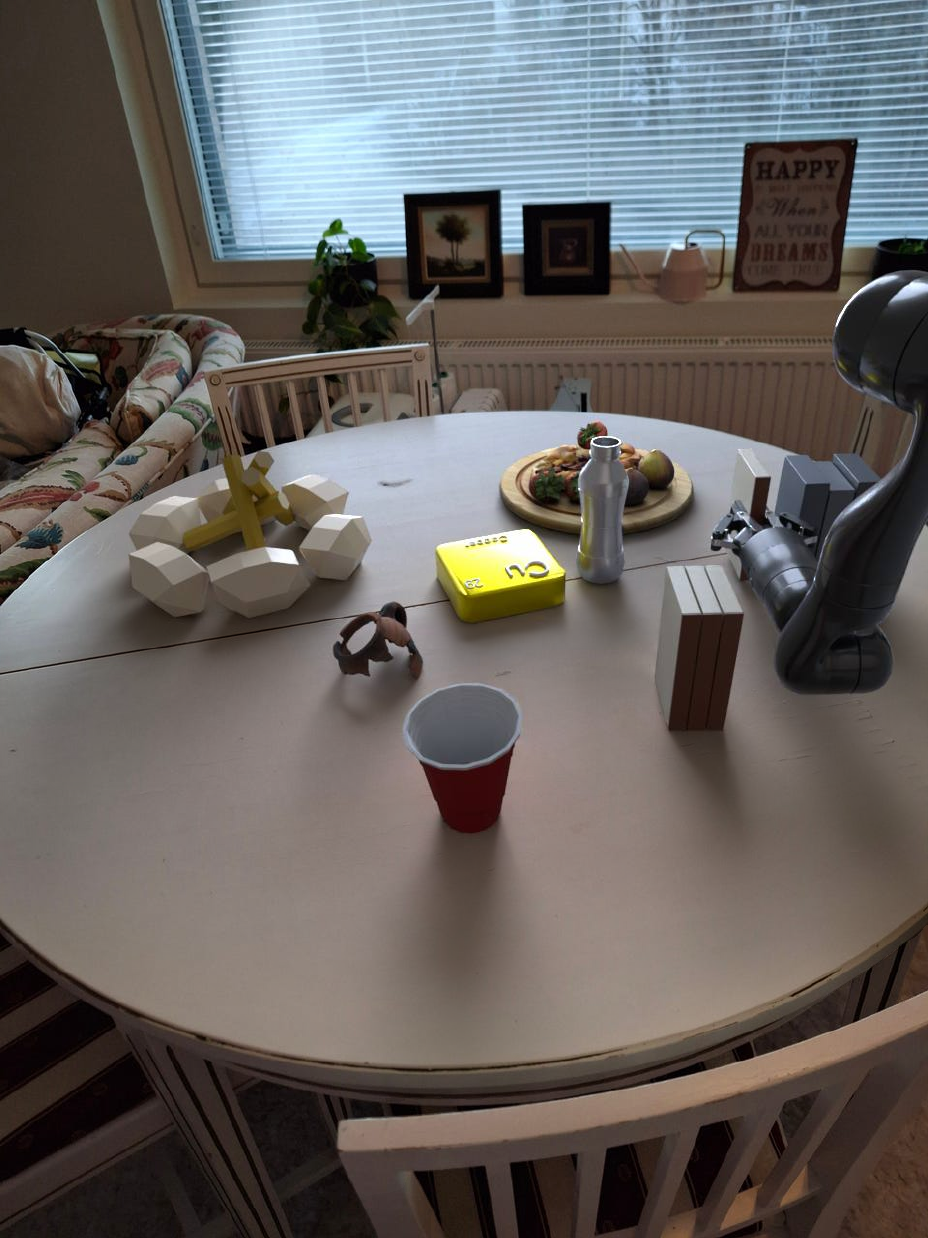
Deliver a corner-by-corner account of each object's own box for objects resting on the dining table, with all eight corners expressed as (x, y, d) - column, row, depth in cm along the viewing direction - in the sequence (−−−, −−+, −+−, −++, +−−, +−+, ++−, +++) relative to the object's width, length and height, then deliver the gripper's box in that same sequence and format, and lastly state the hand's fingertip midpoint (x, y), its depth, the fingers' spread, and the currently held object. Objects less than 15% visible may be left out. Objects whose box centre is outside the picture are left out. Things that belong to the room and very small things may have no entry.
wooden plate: (531, 447, 152) (531, 405, 147) (705, 465, 141) (710, 420, 137) (471, 523, 127) (469, 475, 123) (675, 551, 117) (681, 499, 112)
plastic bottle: (618, 592, 109) (628, 453, 98) (569, 585, 111) (573, 448, 100) (627, 569, 114) (637, 434, 102) (580, 562, 116) (585, 430, 105)
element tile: (531, 552, 119) (531, 523, 116) (570, 604, 107) (571, 573, 104) (433, 571, 116) (431, 541, 113) (462, 626, 104) (460, 595, 101)
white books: (705, 676, 93) (722, 564, 85) (723, 730, 85) (744, 614, 77) (654, 677, 93) (666, 566, 85) (668, 731, 86) (682, 615, 77)
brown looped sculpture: (420, 697, 93) (378, 656, 88) (358, 712, 98) (315, 673, 93) (440, 619, 101) (402, 577, 96) (382, 636, 106) (343, 597, 101)
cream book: (736, 546, 115) (751, 448, 107) (753, 580, 107) (771, 477, 99) (723, 547, 115) (737, 448, 107) (739, 581, 108) (756, 477, 99)
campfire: (397, 588, 112) (384, 476, 103) (146, 653, 103) (106, 536, 93) (332, 493, 139) (317, 397, 130) (129, 537, 130) (96, 436, 120)
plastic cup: (396, 795, 80) (383, 703, 73) (493, 759, 84) (489, 668, 77) (439, 874, 72) (429, 779, 65) (545, 831, 75) (545, 736, 69)
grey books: (833, 551, 115) (857, 452, 106) (856, 584, 107) (883, 481, 99) (766, 553, 115) (784, 455, 107) (785, 586, 108) (806, 483, 100)
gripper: (851, 542, 90) (803, 477, 105) (727, 546, 91) (696, 481, 105) (837, 598, 94) (793, 528, 109) (719, 601, 95) (690, 532, 110)
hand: (745, 506), depth 107 cm, fingers closed on cream book, 2 cm apart
